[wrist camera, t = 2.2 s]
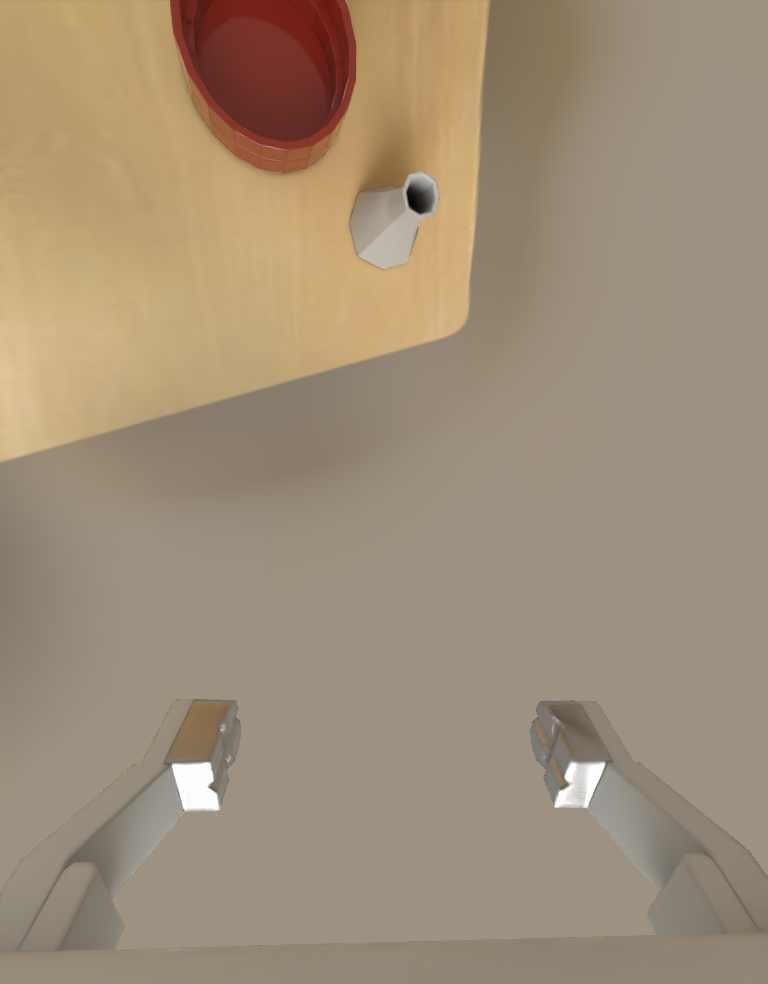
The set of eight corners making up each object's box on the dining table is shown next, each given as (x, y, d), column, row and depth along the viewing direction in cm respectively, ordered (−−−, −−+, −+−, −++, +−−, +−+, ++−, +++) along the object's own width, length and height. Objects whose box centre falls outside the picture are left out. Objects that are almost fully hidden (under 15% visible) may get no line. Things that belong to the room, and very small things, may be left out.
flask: (348, 265, 40) (376, 241, 31) (349, 180, 38) (380, 127, 29) (413, 273, 42) (457, 252, 33) (418, 193, 40) (467, 148, 31)
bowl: (148, 75, 31) (131, 29, 27) (240, -78, 30) (238, -153, 26) (289, 209, 37) (294, 190, 33) (371, 85, 36) (388, 47, 31)
